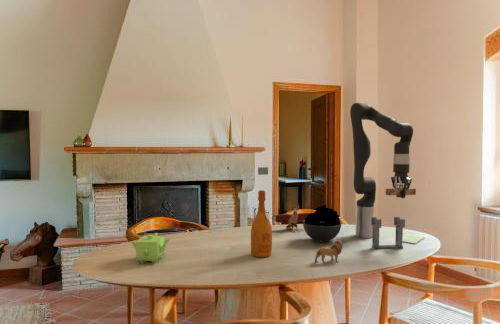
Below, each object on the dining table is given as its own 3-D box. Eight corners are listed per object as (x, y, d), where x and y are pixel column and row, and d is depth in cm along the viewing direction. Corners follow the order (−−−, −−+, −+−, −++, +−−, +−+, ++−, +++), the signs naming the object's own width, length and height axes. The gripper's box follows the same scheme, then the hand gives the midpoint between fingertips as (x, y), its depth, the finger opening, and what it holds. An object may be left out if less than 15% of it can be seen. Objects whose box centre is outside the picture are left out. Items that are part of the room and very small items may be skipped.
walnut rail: (389, 195, 182) (389, 189, 182) (385, 194, 185) (385, 188, 185) (415, 194, 186) (415, 188, 186) (411, 193, 189) (411, 188, 189)
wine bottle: (257, 259, 165) (257, 192, 164) (246, 253, 174) (247, 189, 172) (275, 256, 169) (276, 191, 168) (265, 251, 178) (265, 188, 177)
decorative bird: (280, 230, 206) (276, 204, 211) (268, 236, 222) (264, 211, 227) (324, 227, 216) (319, 202, 221) (309, 232, 232) (305, 209, 237)
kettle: (157, 253, 173) (157, 229, 172) (174, 260, 163) (174, 235, 162) (126, 260, 162) (126, 234, 162) (143, 268, 152) (143, 241, 152)
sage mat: (415, 244, 192) (415, 243, 192) (399, 241, 197) (399, 240, 197) (424, 238, 205) (424, 237, 205) (409, 235, 210) (409, 234, 210)
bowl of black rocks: (325, 248, 183) (325, 210, 182) (294, 240, 198) (295, 205, 197) (348, 242, 196) (349, 206, 195) (318, 235, 211) (318, 202, 210)
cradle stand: (375, 250, 181) (376, 219, 180) (370, 246, 187) (370, 217, 187) (404, 249, 182) (405, 219, 182) (398, 246, 189) (399, 216, 188)
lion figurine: (337, 258, 168) (337, 238, 167) (345, 261, 163) (345, 241, 162) (310, 262, 161) (311, 242, 160) (318, 266, 156) (318, 245, 156)
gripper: (417, 163, 179) (416, 199, 180) (399, 162, 193) (398, 195, 193) (403, 163, 177) (403, 199, 178) (386, 162, 191) (385, 195, 192)
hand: (400, 197), depth 186 cm, fingers closed on walnut rail, 3 cm apart
